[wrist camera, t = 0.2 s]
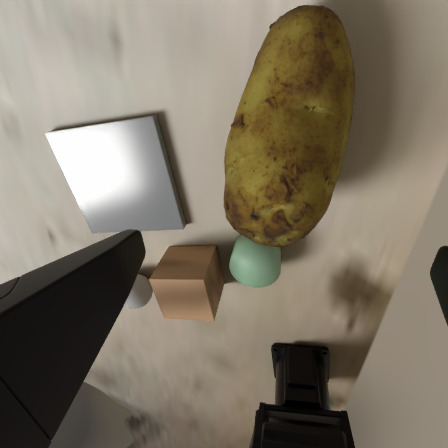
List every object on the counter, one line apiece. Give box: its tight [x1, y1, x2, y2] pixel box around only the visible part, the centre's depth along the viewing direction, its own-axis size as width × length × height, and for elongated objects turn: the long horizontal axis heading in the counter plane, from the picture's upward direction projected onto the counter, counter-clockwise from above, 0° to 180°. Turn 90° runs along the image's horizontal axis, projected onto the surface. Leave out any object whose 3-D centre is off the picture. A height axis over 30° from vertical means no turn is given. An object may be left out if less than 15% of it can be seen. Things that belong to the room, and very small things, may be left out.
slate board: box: [45, 115, 186, 233], centre depth 25 cm, size 10×10×1 cm
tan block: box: [149, 245, 224, 321], centre depth 27 cm, size 5×5×5 cm
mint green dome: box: [229, 234, 281, 287], centre depth 25 cm, size 4×4×3 cm
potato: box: [224, 5, 355, 247], centre depth 17 cm, size 8×13×8 cm, turn 155°
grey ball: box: [124, 274, 153, 309], centre depth 30 cm, size 4×4×4 cm
